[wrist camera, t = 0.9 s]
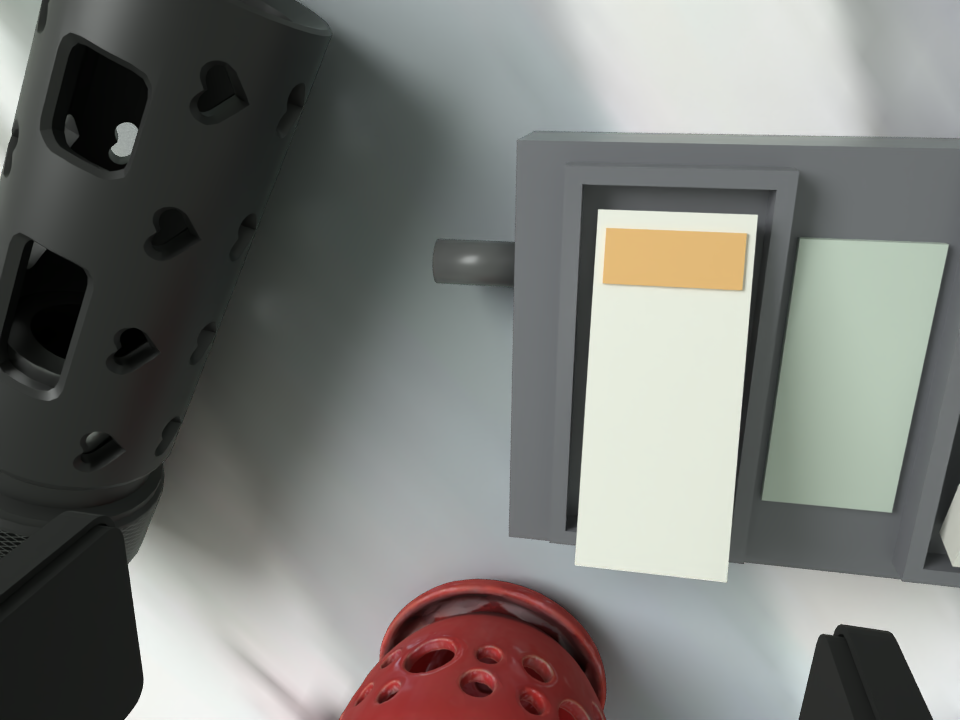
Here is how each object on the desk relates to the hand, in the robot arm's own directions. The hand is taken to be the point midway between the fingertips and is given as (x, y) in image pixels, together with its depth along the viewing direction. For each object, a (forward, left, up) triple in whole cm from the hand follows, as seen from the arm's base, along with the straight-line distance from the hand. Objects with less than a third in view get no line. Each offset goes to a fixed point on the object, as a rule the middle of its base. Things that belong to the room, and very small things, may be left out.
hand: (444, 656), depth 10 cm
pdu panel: (+3, +8, -25) cm, 26 cm away
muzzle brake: (+2, -19, -25) cm, 32 cm away
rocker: (+3, +4, -17) cm, 18 cm away
